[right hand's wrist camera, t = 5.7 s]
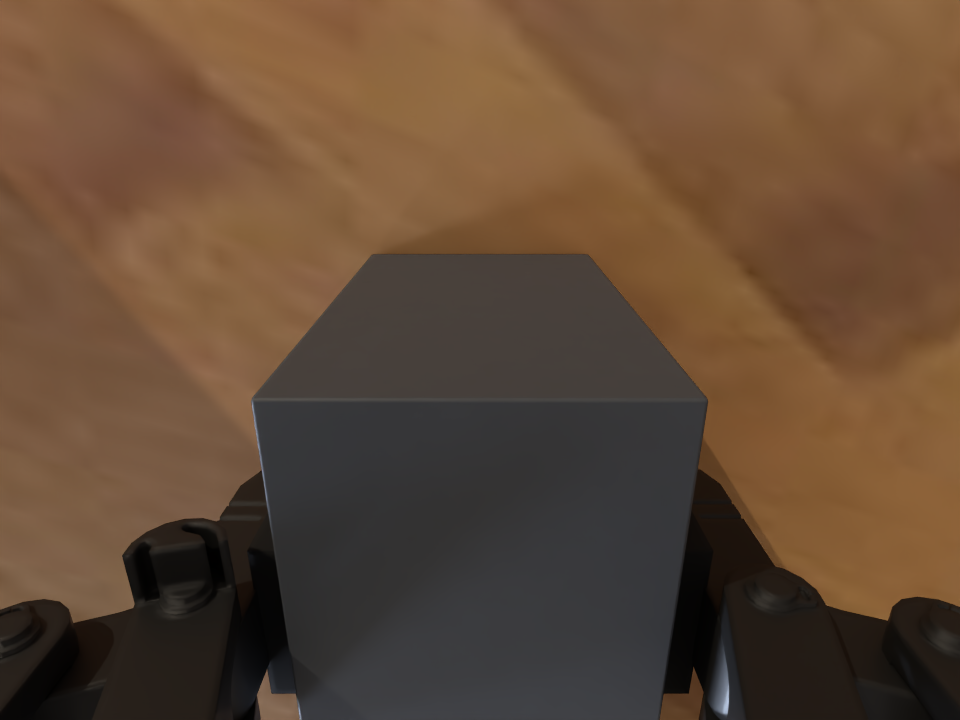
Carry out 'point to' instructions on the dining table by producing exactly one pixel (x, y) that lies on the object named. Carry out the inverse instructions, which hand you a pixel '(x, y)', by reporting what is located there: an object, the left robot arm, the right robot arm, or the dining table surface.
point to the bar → (479, 494)
